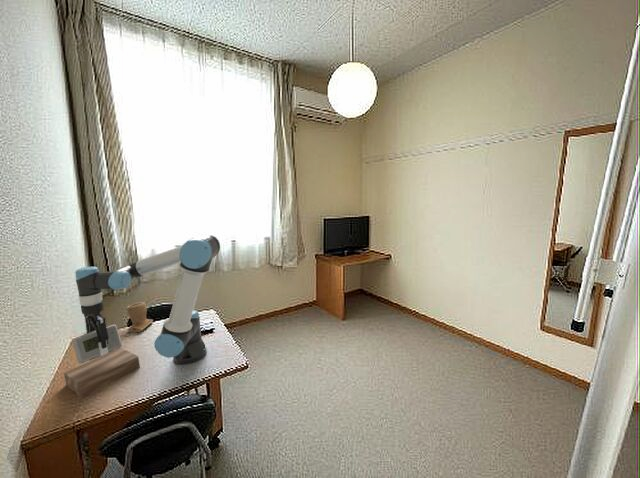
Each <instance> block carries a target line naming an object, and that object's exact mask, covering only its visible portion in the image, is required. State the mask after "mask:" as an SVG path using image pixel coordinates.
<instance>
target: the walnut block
mask: <svg viewBox="0 0 640 478" xmlns="http://www.w3.org/2000/svg"><path fill="white" fill-rule="evenodd" d="M140 368H141V366H140V360H139V356H138V355H136V354H134V353H133V352H131V351H128V350H126V349H125V348H123V347H120V348H118V349H115V350H114V351H112V352H110V353H107V354H105V355H103V356H100V357H98V358H95V359H93V360H90V361H86V362H84V363H81V364H80V365H78V366H76V367H73V368H72V369H69V370H67V371H64V372H63V376H64V381H65V384H66V385H65V386H67V388H69V389H71V391H73V392H74V393H75V394H77V395H78V396H79V397H80V398H82V399H84V398H86V397H87V396H90V395H92V394H93V393H95V392H98V391H99V390H101V389H103V388H105V387H107V386H108V385H111V384H112V383H115V382H116V381H118V380H120V379H122V378H124V377H126V376H128V375H129V374H131V373H133V372H135V371H137V370H139V369H140Z"/></svg>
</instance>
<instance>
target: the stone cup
mask: <svg viewBox="0 0 640 478" xmlns="http://www.w3.org/2000/svg"><path fill="white" fill-rule="evenodd" d="M126 311H127V312H126V313H127V314H128V317H129V318H130V321H131V323H132V325H131V326H129V327H128V328H127V331H129V332H131V333H139V332H142V331H144V329H146V328H147V327H148V326H149V325H151V324H152V322H154V320H153V319H152V318H147V311H148V309H147V306H146V303H145V302H144V301H140V302H136V303H135V302H134V303H133V304H130V305H128V306H127V307H126Z"/></svg>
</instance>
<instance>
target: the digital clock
mask: <svg viewBox="0 0 640 478" xmlns="http://www.w3.org/2000/svg"><path fill="white" fill-rule="evenodd" d="M106 328H107V333H108V337H109V339H108V340H106V341H107V347H108V353H110V352H112V351H114V350H116V349H118V348H122V346H123V344H122V339H121V336H120V333H119V330H118V327H117V325H116V324H111V325H108V326H106ZM71 341H72V346H73V349H74V353H75V357H76V360H77V362H78V364H84V363H87V362H89V361H91V360H94V359H96V358H98V357H100V350H99V344H98V343H97V342H98V341H99V339H98V336H97V333H96V330H95V331H92V332H89V333H87V332H86V333H84V334H82V335H79V336H77V337H74V338H72V340H71Z"/></svg>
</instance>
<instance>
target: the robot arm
mask: <svg viewBox="0 0 640 478" xmlns="http://www.w3.org/2000/svg"><path fill="white" fill-rule="evenodd" d="M220 249H221V243H220V240H219V239H218V237H216V236H215V235H213V234H209V233H204V234H201V235H200V234H199V235H198V236H196V237H192V238H190V239H188V240H187V241H185V242H183V244H182V245H181V246H177V247H174V248H171V249H169V250H166V251H163V252H160V253H157V254H155V255H151V256H148V257H145V258H143V259H139V260H138V261H132V262H129V263H128V264H125V265H124V266H121V267H119V268H115V269H114V270H111V271H99V269H98V267H96V266H85V267H81V268H78V269H76V270H75V272H74V273H75V283H76V287H77V291H78V300H79V304H80V310H81V314H82V315H83V317H84V323H85V330H86V333H89V332H92V331H95V330H96V333H97V336H98V339H99V341H98V342H97V343H98V344H99V350H100V356H103V355H105V354H107V353H108V347H107V341H106V340H108V339H109V337H108V333H107V328H106V327H107V324H106V318H105V317H103V316H102V314H101V312H102V311H104V309H105V306H104V304H105V303H104V301H103V294H104V293H103V292H102V290H104V291H105V290H116V291H117V290H123V289H127V288H128V287H129V286H130V284H131V283H132V281H134V280H136V279H140V278H142V277H144V276H147V275H151V274H153V273H156V272H159V271H162V270H165V269H168V268H171V267H174V266H176V265H179V267H180V268H181V269H182V271H181V274H180V278H179V282H178V286H177V289H176V292H175V296H174V299H173V303H172V307H171V311H170V314H169V318H167V319H165V320H164V322H163V325H162V328H161V332H160V334H159V335H158V336H157V337H156V339H155V340H154V342H153V343H154V344H153V345H154V348H155V351H156V352H157V353H158V354H159V355H160V356H161V357H165V358H173V362H174V363H176V364H178V365H187V364H192V363H195V362H198V361H200V360H201V359H203V358H204V357H205V356H206V354H207V346H206V344H205V342H204V340H203V339H202V332H201V331H202V330H201V318H200V313H199V311H197V310H195V309H194V308H195V305H196V302H197V299H198V295H199V291H200V288H201V286H202V282H203V278H204V275H205V274H206V273H208V272H209V271H210V267H211V264H212V261H213V259H214V258H215V257H217V256H218V255H219V253H220Z"/></svg>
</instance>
